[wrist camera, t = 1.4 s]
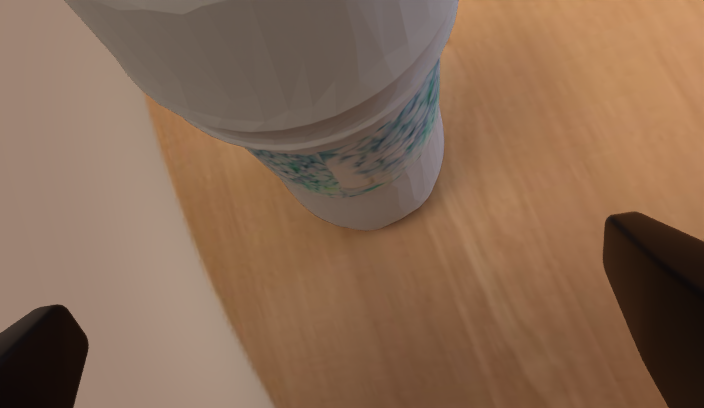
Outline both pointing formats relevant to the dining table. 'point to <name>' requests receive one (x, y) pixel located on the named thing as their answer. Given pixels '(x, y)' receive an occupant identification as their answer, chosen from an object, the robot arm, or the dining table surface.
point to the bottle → (300, 89)
